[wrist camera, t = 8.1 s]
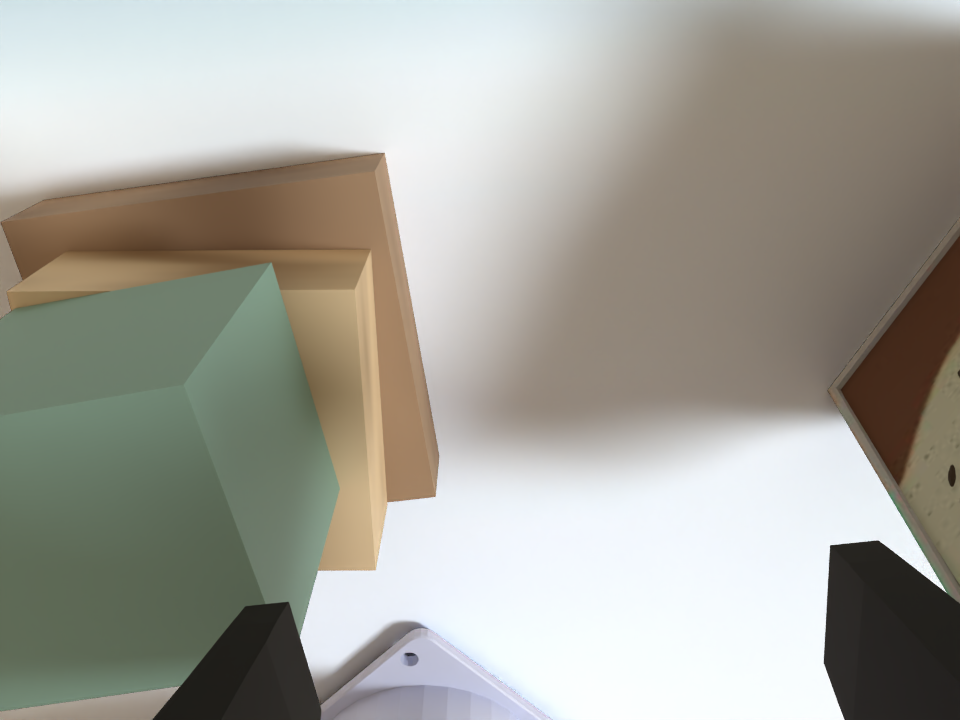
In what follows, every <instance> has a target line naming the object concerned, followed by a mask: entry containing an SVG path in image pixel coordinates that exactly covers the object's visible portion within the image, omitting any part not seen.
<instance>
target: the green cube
mask: <svg viewBox="0 0 960 720" xmlns="http://www.w3.org/2000/svg"><path fill="white" fill-rule="evenodd" d="M339 490H340V487H339V483H338V480H337V477H336V473H335V470H334V467H333V463H332V460H331V457H330V453H329V450H328V447H327V444H326V440H325V437H324V434H323V430H322V427H321V424H320V420H319V417H318V414H317V411H316V407H315V404H314V401H313V397H312V394H311V391H310V388H309V384H308V381H307V378H306V374H305V371H304V368H303V364H302V361H301V358H300V355H299V351H298V348H297V345H296V341H295V338H294V335H293V332H292V328H291V325H290V322H289V318H288V315H287V312H286V308H285V305H284V302H283V299H282V295H281V292H280V289H279V285H278V282H277V279H276V275H275V272H274V269H273V266H272V262H270V263H264V264H259V265H253V266H248V267H242V268H237V269H231V270H226V271H220V272H215V273H209V274H203V275H198V276H192V277H187V278H181V279H176V280H170V281H165V282H159V283H154V284H148V285H142V286H137V287H131V288H126V289H120V290H115V291H109V292H104V293H98V294H93V295H87V296H81V297H76V298H70V299H65V300H59V301H54V302H48V303H43V304H37V305H32V306H26V307H20V308H15V309H13V310H12V311H11V312H9V313H8V314H7V315H5V316H4V317H2V318H1V319H0V711H6V710H13V709H20V708H27V707H34V706H42V705H49V704H56V703H63V702H70V701H77V700H84V699H91V698H98V697H106V696H113V695H120V694H127V693H134V692H141V691H148V690H155V689H162V688H170V687H177V686H181V685H182V684H183V682H184V681H185V680H186V679H187V677H188V676H189V675H190V674H191V672H192V671H193V670H194V669H195V667H196V666H197V665H198V664H199V662H200V661H201V660H202V659H203V657H204V656H205V655H206V654H207V652H208V651H209V650H210V649H211V647H212V646H213V645H214V644H215V642H216V641H217V640H218V639H219V637H220V636H221V635H222V634H223V633H224V631H225V630H226V629H227V628H228V626H229V625H230V624H231V623H232V622H233V620H234V619H235V618H236V617H237V616H238V614H239V613H240V612H241V611H242V610H243V608H244V607H245V606H251V605H261V604H271V603H280V602H289V604H290V607H291V610H292V614H293V617H294V620H295V624H296V627H297V630H298V634H299V637H300V634H301V630H302V626H303V623H304V619H305V615H306V612H307V608H308V604H309V601H310V597H311V593H312V590H313V586H314V582H315V579H316V575H317V571H318V568H319V564H320V560H321V557H322V553H323V549H324V546H325V542H326V538H327V535H328V531H329V527H330V524H331V520H332V516H333V513H334V509H335V505H336V501H337V498H338V494H339Z"/></svg>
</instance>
